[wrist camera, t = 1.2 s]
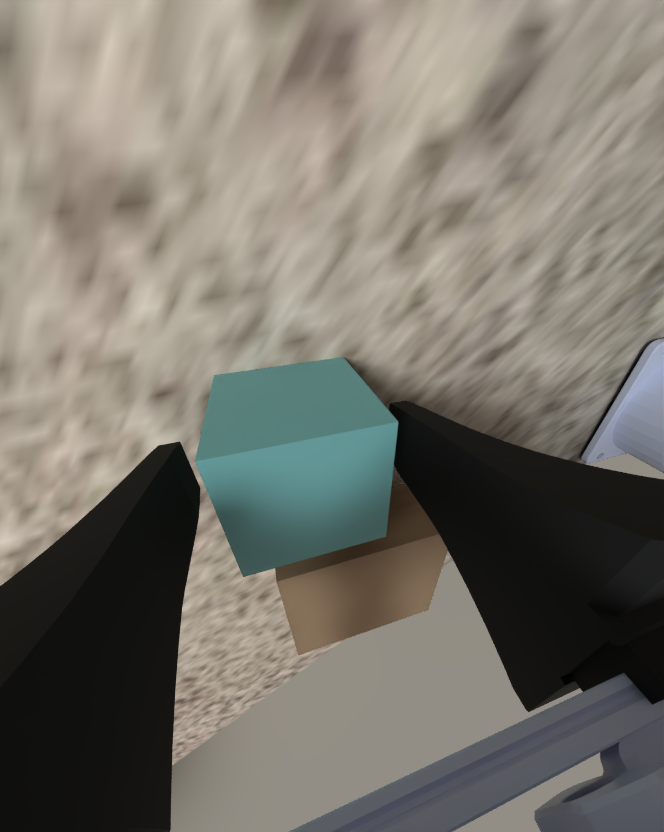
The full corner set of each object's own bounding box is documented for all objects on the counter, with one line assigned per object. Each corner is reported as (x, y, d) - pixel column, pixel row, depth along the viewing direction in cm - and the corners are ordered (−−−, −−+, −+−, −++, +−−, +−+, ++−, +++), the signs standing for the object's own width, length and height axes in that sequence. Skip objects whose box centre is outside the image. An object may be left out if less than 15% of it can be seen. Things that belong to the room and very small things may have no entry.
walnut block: (415, 475, 15) (454, 529, 12) (401, 556, 20) (428, 609, 17) (269, 510, 14) (276, 581, 11) (289, 590, 18) (298, 655, 15)
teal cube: (342, 356, 10) (398, 421, 6) (344, 450, 13) (386, 536, 9) (214, 374, 9) (195, 461, 6) (243, 471, 12) (243, 576, 8)
